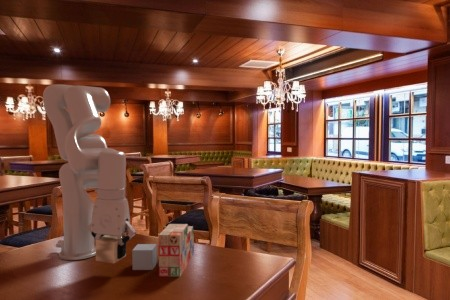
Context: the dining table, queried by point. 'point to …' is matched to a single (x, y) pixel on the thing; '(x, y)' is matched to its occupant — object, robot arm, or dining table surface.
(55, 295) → the dining table surface
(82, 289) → the dining table surface
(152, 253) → the bluegrey block
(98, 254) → the maple cube
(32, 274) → the dining table surface
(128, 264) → the dining table surface
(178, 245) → the stack of blocks
